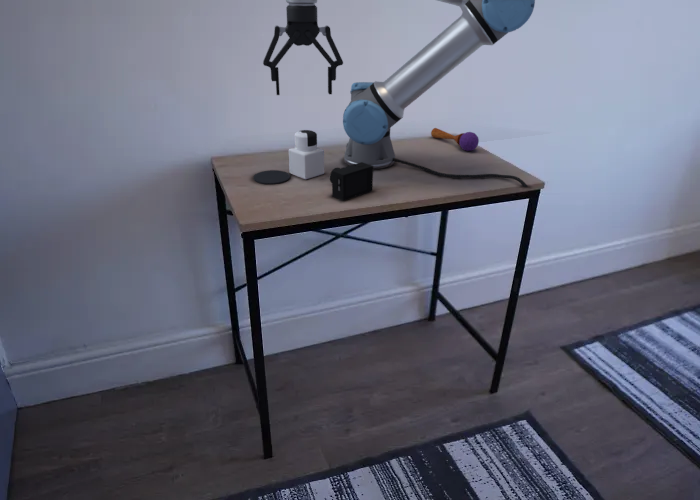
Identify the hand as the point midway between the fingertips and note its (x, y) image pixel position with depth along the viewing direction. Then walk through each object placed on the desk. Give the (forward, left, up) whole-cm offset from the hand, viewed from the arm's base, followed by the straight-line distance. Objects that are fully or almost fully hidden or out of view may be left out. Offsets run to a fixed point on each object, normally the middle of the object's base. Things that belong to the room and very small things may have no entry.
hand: (304, 93), depth 138 cm
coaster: (+8, +6, -22) cm, 24 cm away
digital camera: (-16, +10, -22) cm, 29 cm away
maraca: (-36, -42, -22) cm, 59 cm away
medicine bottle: (0, 0, -22) cm, 22 cm away
